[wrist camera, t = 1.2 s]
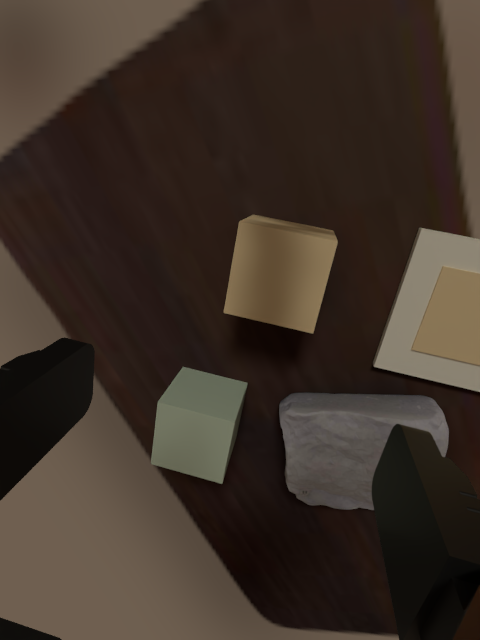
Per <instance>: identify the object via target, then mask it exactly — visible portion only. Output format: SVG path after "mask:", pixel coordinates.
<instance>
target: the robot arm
mask: <svg viewBox="0 0 480 640" xmlns="http://www.w3.org/2000/svg"><path fill="white" fill-rule="evenodd" d="M93 376H94V348H93V346H92V345H91V344H88V343H84V342H80V341H76V340H72V339H68V338H61V339H59V340H57V341H56V342H54V343H53V344H51V345H49V346H48V347H46V348H44V349H43V350H41V351H40V350H38V351H34V352H31V353H28V354H25V355H21V356H18V357H16V358H14V359H13V360H11V361H9V362H7V363H6V364H4V365H2V366H1V368H0V500H1V499H2V498H3V497H4V496H5V495H6V494H7V493H8V492H9V491H10V490H11V489H12V488H13V487H14V486H15V485H16V484H17V483H18V482H19V481H20V480H21V479H22V478H23V477H24V476H25V475H26V474H27V473H28V472H29V471H30V470H31V469H32V468H33V467H34V466H35V465H36V464H37V463H38V462H39V461H40V460H41V459H42V458H43V457H44V456H45V455H46V454H47V453H48V452H49V451H50V450H51V449H52V448H53V447H54V446H55V444H57V443H58V442H59V441H60V440H61V439H62V438H63V437H64V436H65V434H66V433H67V432H68V431H69V430H70V429H71V428H72V427H73V426H74V425H75V424H76V423H77V422H78V421H79V420H80V419H81V418H82V417H83V416H84V415H85V413H86V412H87V410H88V408H89V406H90V403H91V400H92V395H93ZM372 501H373V506H374V511H375V516H376V521H377V527H378V532H379V537H380V542H381V547H382V552H383V558H384V563H385V568H386V573H387V578H388V583H389V589H390V594H391V599H392V604H393V609H394V614H395V620H396V625H397V630H398V635H399V640H480V500H479V499H477V494H476V492H475V491H474V489H473V487H472V485H471V483H470V481H469V479H468V477H467V476H466V475H465V474H464V473H463V472H462V471H461V470H460V469H459V468H458V467H457V466H456V465H455V464H454V463H453V461H452V460H451V459H450V458H446V457H442V455H441V453H440V451H439V449H438V447H437V445H436V443H435V440H434V438H433V436H432V435H431V433H430V432H428V431H424V430H420V429H417V428H413V427H409V426H405V425H401V424H396V425H395V426H394V427H393V428H392V430H391V432H390V435H389V437H388V440H387V442H386V445H385V447H384V450H383V452H382V455H381V457H380V460H379V462H378V465H377V467H376V470H375V472H374V476H373V481H372ZM0 640H61V639H60V638H58V637H55V636H52V635H49V634H46V633H43V632H41V631H38V630H35V629H32V628H29V627H26V626H23V625H20V624H17V623H15V622H12V621H8V620H6V619H3V618H0Z"/></svg>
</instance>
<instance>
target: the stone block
mask: <svg viewBox="0 0 480 640" xmlns="http://www.w3.org/2000/svg"><path fill="white" fill-rule="evenodd" d="M279 416H280V424H281V428H282V430H283V439H284V443H285V450H286V467H285V478H286V483H287V486H288V489H289V491H290V492H292V493H294V494H296V498H298V499H299V500H301V501H303V502H305V503H306V504H308V505H313V506H314V505H326V506H329V507H331V508H336V509H356V508H359V507H360V508H364V509H369V510H374V506H373V501H372V481H373V476H374V472H375V470H376V467H377V465H378V462H379V460H380V457H381V455H382V452H383V450H384V447H385V445H386V442H387V440H388V437H389V435H390V432H391V430H392V428H393V427H394V426H395V425H396V424H401V425H405V426H409V427H413V428H417V429H420V430H424V431H428V432H430V433H431V435H432V436H433V438H434V440H435V443H436V445H437V447H438V449H439V451H440V453H441V455H442V457H445V455H446V452H447V447H448V436H449V429H448V426H447V423H446V420H445V416H444V413H443V411H442V409H441V408H440V407H439V406H438V405H437V403H436V402H435V401H434V400H433V399H432V398H430V397H426V396H420V395H379V394H328V393H308V392H307V393H294V394H290V395H289V396H288V397H286V398H285V399H283V400H282V401H281V402H280V404H279Z"/></svg>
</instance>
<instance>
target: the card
mask: <svg viewBox="0 0 480 640" xmlns="http://www.w3.org/2000/svg"><path fill="white" fill-rule="evenodd" d="M373 366H374V367H377V368H381V369H385V370H390V371H394V372H398V373H402V374H406V375H411V376H415V377H419V378H423V379H427V380H432V381H436V382H440V383H444V384H448V385H453V386H457V387H461V388H465V389H470V390H474V391H478V392H480V239H475V238H470V237H465V236H460V235H455V234H450V233H445V232H439V231H434V230H429V229H424V228H419V230H418V233H417V236H416V238H415V241H414V244H413V247H412V250H411V253H410V256H409V259H408V262H407V265H406V268H405V270H404V273H403V276H402V279H401V282H400V285H399V288H398V291H397V294H396V297H395V300H394V302H393V305H392V308H391V311H390V314H389V317H388V320H387V323H386V326H385V329H384V332H383V334H382V337H381V340H380V343H379V346H378V349H377V352H376V355H375V358H374V361H373Z"/></svg>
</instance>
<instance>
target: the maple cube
mask: <svg viewBox="0 0 480 640" xmlns="http://www.w3.org/2000/svg"><path fill="white" fill-rule="evenodd" d="M337 243H338V241H337V238H336V236H335V234H334V231H333V230H328V229H323V228H318V227H313V226H308V225H303V224H298V223H293V222H288V221H283V220H278V219H273V218H268V217H263V216H258V215H252V216H250V217H248V218H246V219H243V220H241V221H239V226H238V232H237V238H236V244H235V249H234V255H233V261H232V267H231V273H230V279H229V285H228V290H227V296H226V302H225V308H224V313H226V314H231V315H235V316H239V317H244V318H248V319H252V320H256V321H261V322H265V323H269V324H274V325H278V326H282V327H287V328H291V329H295V330H299V331H304V332H308V333H312V334H313V332H314V328H315V325H316V321H317V317H318V314H319V310H320V306H321V302H322V299H323V295H324V291H325V288H326V284H327V280H328V276H329V273H330V269H331V265H332V262H333V258H334V254H335V250H336V247H337Z"/></svg>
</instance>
